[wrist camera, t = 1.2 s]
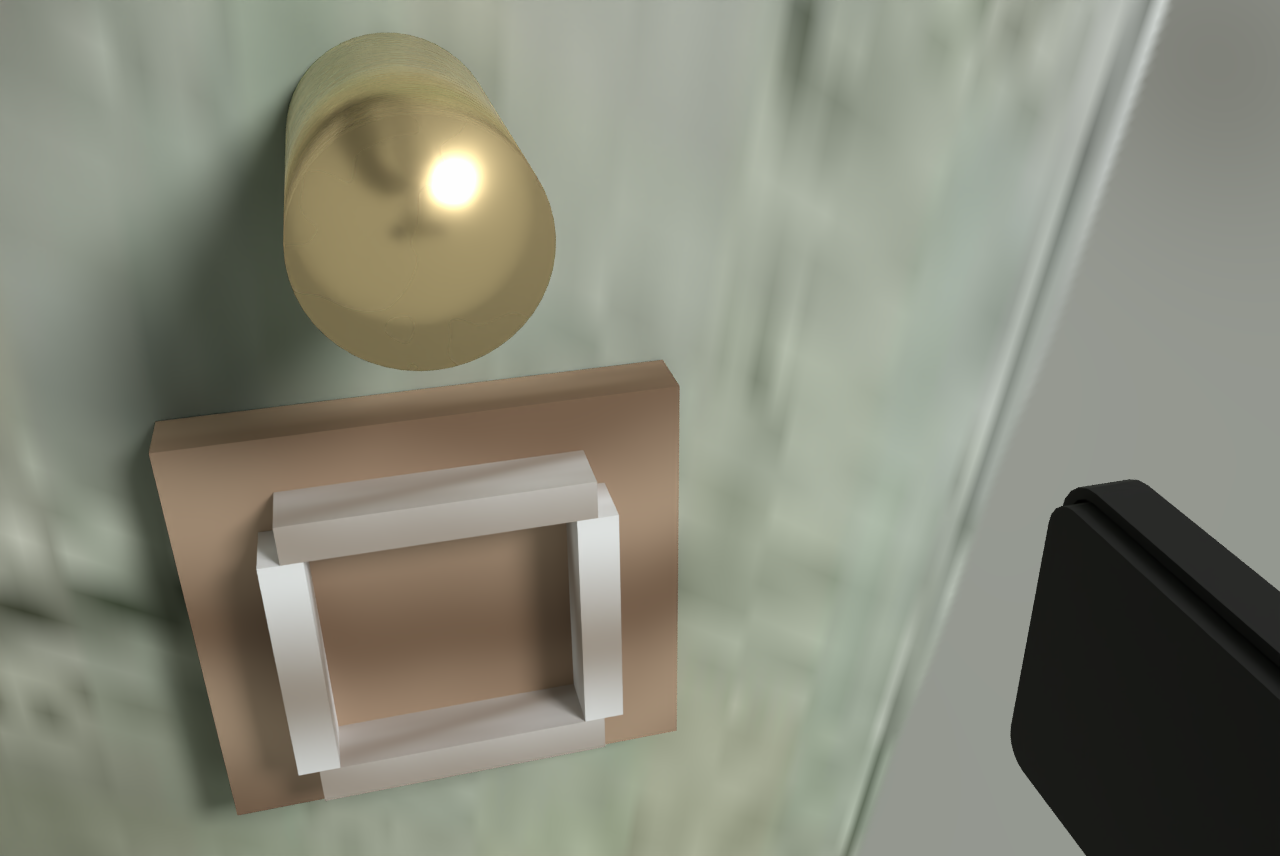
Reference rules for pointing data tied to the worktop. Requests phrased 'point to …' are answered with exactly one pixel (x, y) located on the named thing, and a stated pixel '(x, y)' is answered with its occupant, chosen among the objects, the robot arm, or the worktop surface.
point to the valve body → (409, 207)
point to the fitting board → (429, 577)
